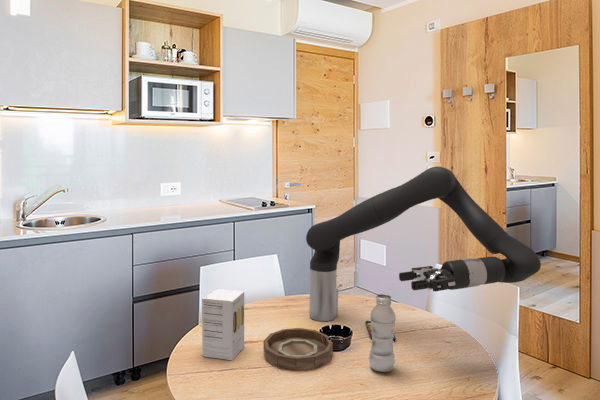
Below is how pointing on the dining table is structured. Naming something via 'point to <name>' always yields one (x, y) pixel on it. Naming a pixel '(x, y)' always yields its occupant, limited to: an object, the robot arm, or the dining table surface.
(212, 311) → the supplement box
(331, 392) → the dining table surface
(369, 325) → the smartphone
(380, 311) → the plastic bottle
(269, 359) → the walnut tray
